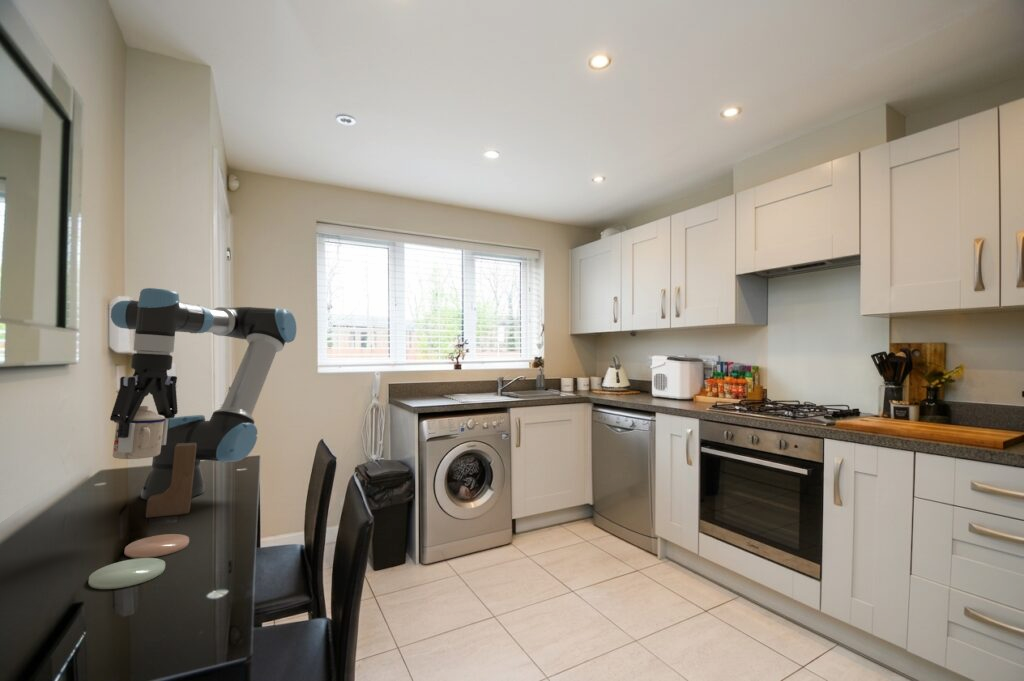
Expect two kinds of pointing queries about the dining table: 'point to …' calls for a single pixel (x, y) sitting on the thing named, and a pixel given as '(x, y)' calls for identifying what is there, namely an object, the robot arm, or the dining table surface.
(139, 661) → the dining table surface
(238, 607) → the dining table surface
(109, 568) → the sage coaster
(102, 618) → the dining table surface
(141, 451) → the teacup with lid
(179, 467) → the wooden block
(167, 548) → the pink coaster
